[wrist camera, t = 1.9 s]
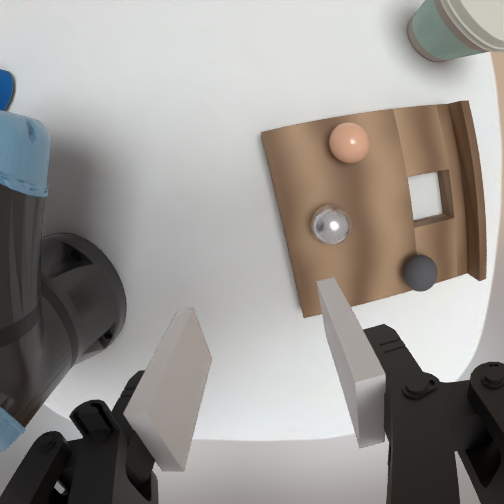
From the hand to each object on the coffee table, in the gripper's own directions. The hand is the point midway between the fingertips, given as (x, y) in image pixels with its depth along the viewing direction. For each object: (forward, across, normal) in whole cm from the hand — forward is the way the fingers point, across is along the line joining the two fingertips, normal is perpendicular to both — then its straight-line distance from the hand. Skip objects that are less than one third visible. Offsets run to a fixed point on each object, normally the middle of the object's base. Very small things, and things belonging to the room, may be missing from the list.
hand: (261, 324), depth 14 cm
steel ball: (+14, +6, 0) cm, 16 cm away
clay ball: (+14, +9, +6) cm, 18 cm away
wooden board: (+19, +12, 0) cm, 22 cm away
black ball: (+14, +14, -6) cm, 21 cm away
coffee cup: (+19, +23, +17) cm, 34 cm away
